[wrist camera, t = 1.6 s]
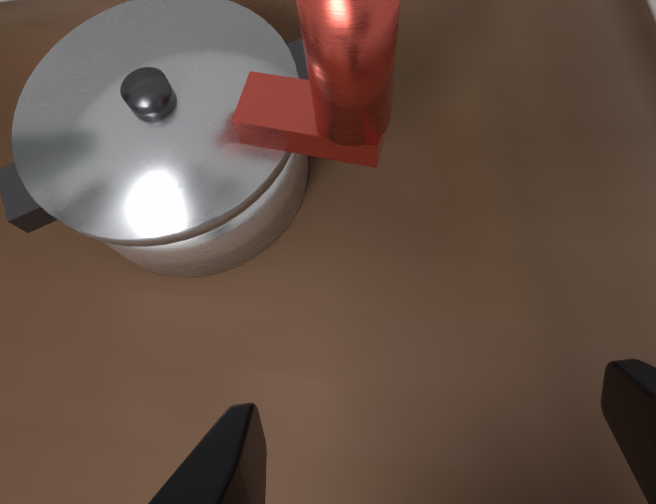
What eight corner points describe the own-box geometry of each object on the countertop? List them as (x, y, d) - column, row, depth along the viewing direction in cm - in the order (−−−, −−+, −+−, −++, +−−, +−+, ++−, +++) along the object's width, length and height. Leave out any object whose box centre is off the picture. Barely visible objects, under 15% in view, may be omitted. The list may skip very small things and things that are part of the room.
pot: (93, 335, 22) (28, 312, 17) (38, 150, 25) (-27, 95, 21) (401, 188, 23) (409, 134, 19) (306, 34, 27) (294, -40, 23)
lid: (-25, 213, 19) (-296, 64, 11) (93, -7, 22) (-49, -232, 15) (353, 298, 16) (342, 184, 9) (415, 37, 20) (445, -203, 12)
